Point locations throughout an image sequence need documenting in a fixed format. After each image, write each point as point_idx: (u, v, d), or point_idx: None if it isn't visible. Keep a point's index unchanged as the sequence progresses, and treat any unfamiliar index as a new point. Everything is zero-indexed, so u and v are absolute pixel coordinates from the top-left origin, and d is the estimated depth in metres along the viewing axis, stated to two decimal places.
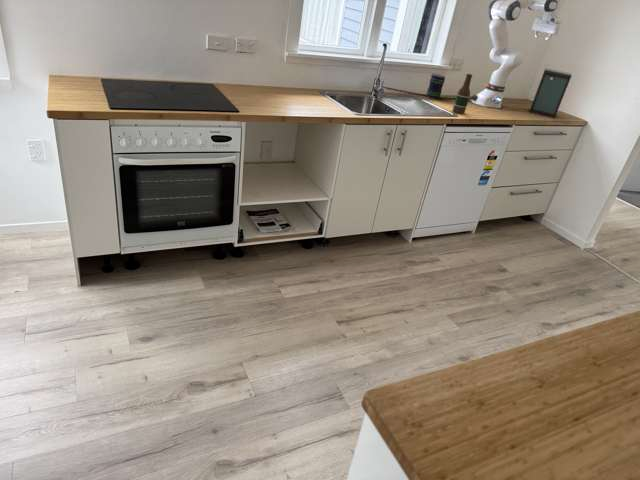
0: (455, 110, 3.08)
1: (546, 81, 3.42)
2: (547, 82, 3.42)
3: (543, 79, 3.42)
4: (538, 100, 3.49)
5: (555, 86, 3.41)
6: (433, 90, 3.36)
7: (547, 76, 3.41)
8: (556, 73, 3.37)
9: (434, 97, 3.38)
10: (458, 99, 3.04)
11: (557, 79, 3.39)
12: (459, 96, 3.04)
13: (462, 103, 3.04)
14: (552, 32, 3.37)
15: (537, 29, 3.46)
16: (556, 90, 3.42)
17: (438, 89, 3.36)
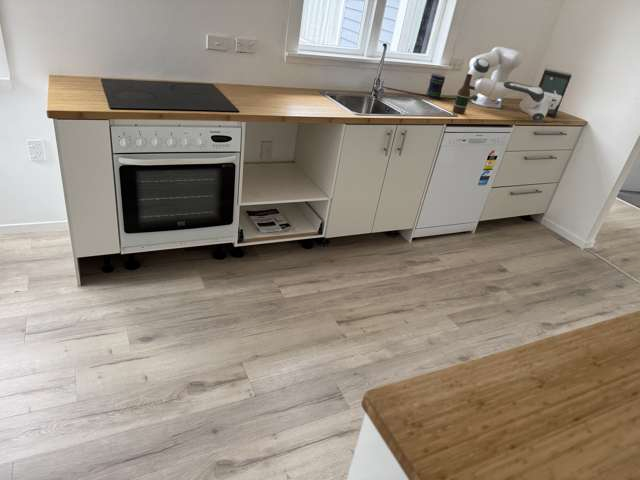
0: (455, 110, 3.08)
1: (546, 81, 3.42)
2: (547, 82, 3.42)
3: (543, 79, 3.42)
4: None
5: (555, 86, 3.41)
6: (433, 90, 3.36)
7: (547, 76, 3.41)
8: (556, 73, 3.37)
9: (434, 97, 3.38)
10: (458, 99, 3.04)
11: (557, 79, 3.39)
12: (459, 96, 3.04)
13: (462, 103, 3.04)
14: None
15: None
16: (556, 90, 3.42)
17: (438, 89, 3.36)
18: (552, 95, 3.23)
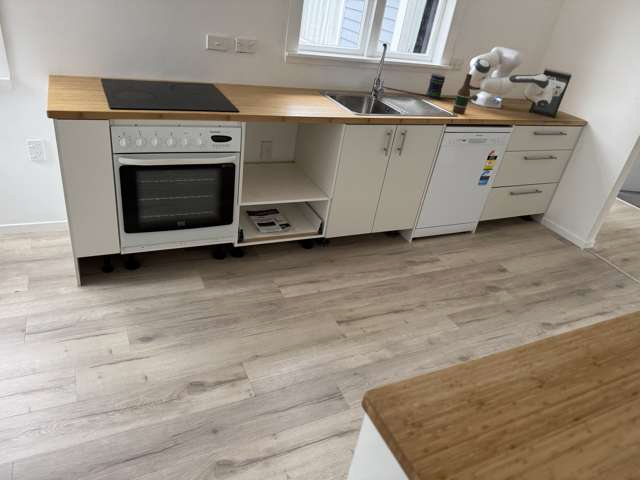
0: (455, 110, 3.08)
1: None
2: None
3: None
4: None
5: None
6: (433, 90, 3.36)
7: (547, 76, 3.41)
8: (556, 73, 3.37)
9: (434, 97, 3.38)
10: (458, 99, 3.04)
11: (557, 79, 3.39)
12: (459, 96, 3.04)
13: (462, 103, 3.04)
14: None
15: None
16: None
17: (438, 89, 3.36)
18: (556, 82, 3.30)
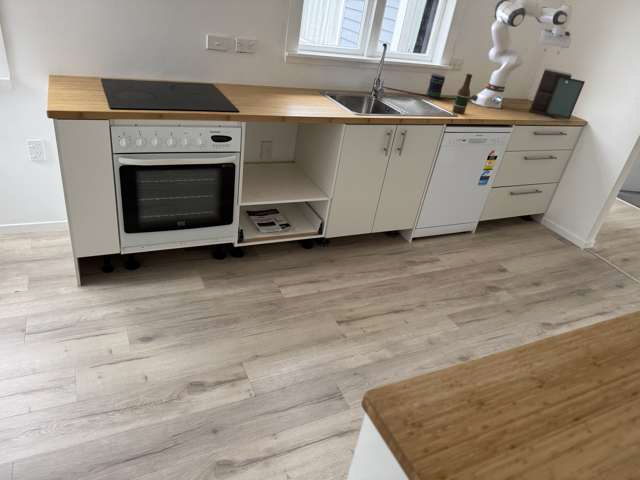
0: (455, 110, 3.08)
1: (560, 85, 3.39)
2: (562, 85, 3.39)
3: (558, 82, 3.39)
4: (552, 103, 3.46)
5: (570, 89, 3.38)
6: (433, 90, 3.36)
7: (562, 79, 3.38)
8: (556, 73, 3.37)
9: (434, 97, 3.38)
10: (458, 99, 3.04)
11: (572, 82, 3.36)
12: (459, 96, 3.04)
13: (462, 103, 3.04)
14: (566, 46, 3.34)
15: (547, 42, 3.38)
16: (571, 93, 3.39)
17: (438, 89, 3.36)
18: None
